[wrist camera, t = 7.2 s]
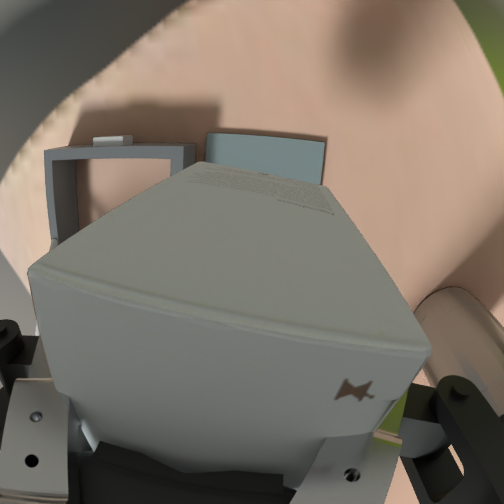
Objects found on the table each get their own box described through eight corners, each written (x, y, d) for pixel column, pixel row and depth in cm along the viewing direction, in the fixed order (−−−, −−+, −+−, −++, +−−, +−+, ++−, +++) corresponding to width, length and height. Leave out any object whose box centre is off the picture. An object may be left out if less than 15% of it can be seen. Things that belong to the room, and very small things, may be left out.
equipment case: (196, 134, 27) (99, 148, 11) (195, 343, 35) (152, 465, 20) (67, 138, 27) (-61, 166, 12) (88, 324, 36) (17, 415, 20)
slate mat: (324, 142, 26) (324, 142, 26) (310, 250, 30) (311, 252, 29) (208, 132, 26) (206, 132, 26) (204, 240, 30) (202, 242, 30)
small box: (199, 158, 13) (14, 250, 3) (330, 185, 13) (450, 343, 3) (179, 317, 16) (96, 499, 6) (286, 339, 16) (283, 541, 6)
